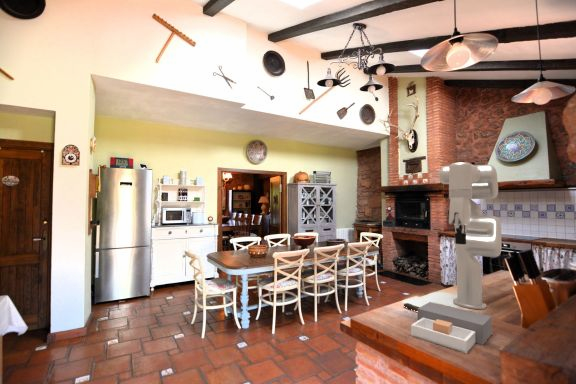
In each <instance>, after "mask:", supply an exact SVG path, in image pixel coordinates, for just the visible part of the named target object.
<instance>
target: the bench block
mask: <svg viewBox="0 0 576 384" xmlns="http://www.w3.org/2000/svg"><path fill="white" fill-rule="evenodd" d="M419 307H420V308H418V313H417V321H418V320H420V319H421V318H427V319H430V320H434V321H436V320H437V319H439V320H443V321H447V322H451V323H452V325H453V326H456V327H460V328H464V329H467V330H471V331H475V336H476V343H475V344H479V345H482V346H484V345H485V343H486V342H487V341H488V340H489V339H490V337H491V336H492V335H491V333H493V331H492V330H493V328H492V326H493V325H492V323H493V322H492V320H493V319H492V315H488V314H484V313H481V312H480V313H479V312H474V311H470V310H466V309H463V308H458V307H454V306H449V305H445V304H442V303H441V304H440V303H436V302H432V301H428V302H427V303H425V304H424V305H422V306H419ZM490 335H491V336H490ZM489 336H490V337H489ZM487 339H488V340H487Z"/></svg>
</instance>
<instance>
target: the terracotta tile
mask: <svg viewBox="0 0 576 384" xmlns="http://www.w3.org/2000/svg"><path fill="white" fill-rule="evenodd" d="M433 331H437V332H440V333H444V334H447V335H449V334H450V333H451V332H452V323H451V322H447V321H443V320H439V319H437V320H436V321H434V322H433Z"/></svg>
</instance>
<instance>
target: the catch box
mask: <svg viewBox="0 0 576 384" xmlns="http://www.w3.org/2000/svg"><path fill="white" fill-rule="evenodd" d="M433 322H434V320H430V319H427V318H421V319H420V320H418V319H417V321H415V322H413V323H412V324H411V325H410V336H411V337H414V338H417V339H420V340H423V341H425V342H429V343H432V344H435V345H438V346H441V347H444V348H448V349H449V350H450V349H451V350H453V351H457V352H460V353H463V354H468V353H469V351H470V350H471V349H472V348H473V347H474V345H475V344H477V343H476V336H475V331H471V330H467V329H464V328H460V327H456V326H453V325H452V336H450V335H447V334H444V333H440V332H437V331H433Z"/></svg>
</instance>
